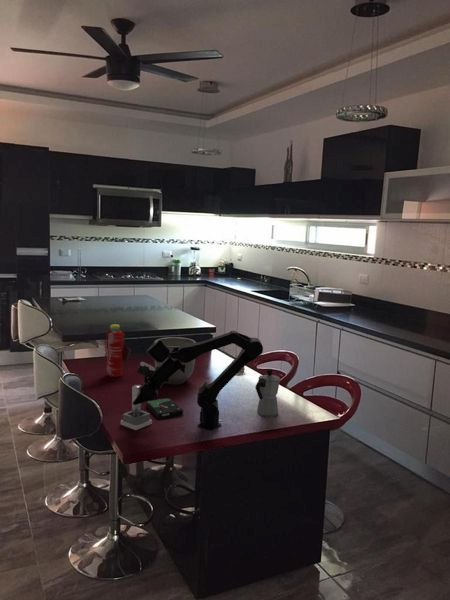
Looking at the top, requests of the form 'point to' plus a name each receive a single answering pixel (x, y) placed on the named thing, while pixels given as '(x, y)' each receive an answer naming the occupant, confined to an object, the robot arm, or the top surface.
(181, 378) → the planter
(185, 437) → the top surface
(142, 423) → the square open box
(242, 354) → the robot arm
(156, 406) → the disk drive
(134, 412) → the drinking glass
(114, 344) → the water bottle
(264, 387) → the coffee maker
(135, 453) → the top surface
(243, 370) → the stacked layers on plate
